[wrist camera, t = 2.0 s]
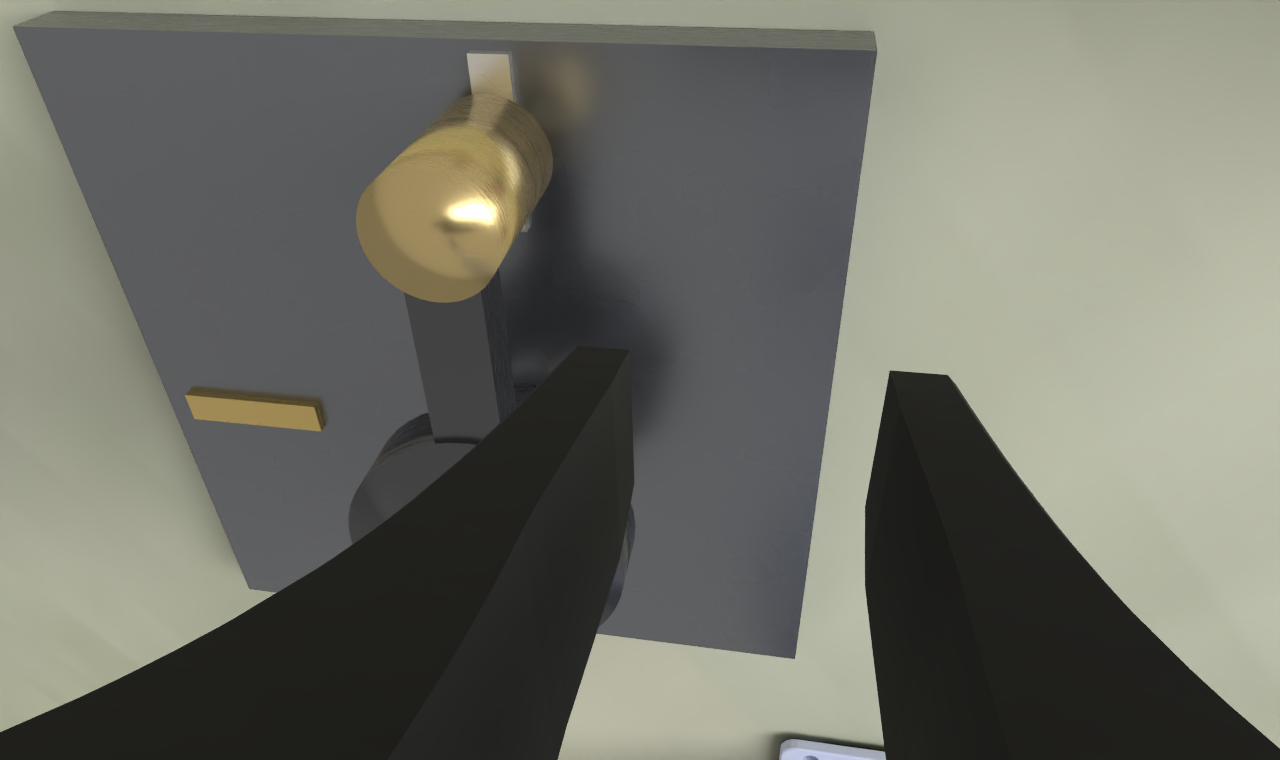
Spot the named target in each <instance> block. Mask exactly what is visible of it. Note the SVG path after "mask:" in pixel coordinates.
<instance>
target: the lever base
mask: <svg viewBox="0 0 1280 760" xmlns="http://www.w3.org/2000/svg"><path fill="white" fill-rule="evenodd" d="M13 28H14V31H15V33H16V36H17V38H18V40H19V43H20V45H21V47H22V50H23V52H24V55H25V57H26V59H27V62H28V64H29V66H30V69H31V71H32V74H33V76H34V78H35V81H36V83H37V85H38V88H39V90H40V93H41V95H42V97H43V100H44V102H45V105H46V107H47V109H48V112H49V114H50V116H51V119H52V121H53V124H54V126H55V128H56V131H57V133H58V135H59V138H60V140H61V143H62V145H63V147H64V150H65V152H66V154H67V157H68V159H69V162H70V164H71V166H72V169H73V171H74V173H75V176H76V178H77V181H78V183H79V185H80V188H81V190H82V192H83V195H84V197H85V200H86V202H87V204H88V207H89V209H90V211H91V214H92V216H93V219H94V221H95V223H96V226H97V228H98V230H99V233H100V235H101V238H102V240H103V242H104V245H105V247H106V249H107V252H108V254H109V257H110V259H111V261H112V264H113V266H114V268H115V271H116V273H117V276H118V278H119V280H120V283H121V285H122V288H123V290H124V292H125V295H126V297H127V299H128V302H129V304H130V307H131V309H132V311H133V314H134V316H135V318H136V321H137V323H138V326H139V328H140V330H141V333H142V335H143V337H144V340H145V342H146V345H147V347H148V349H149V352H150V354H151V356H152V359H153V361H154V364H155V366H156V368H157V371H158V373H159V375H160V378H161V380H162V383H163V385H164V387H165V390H166V392H167V394H168V397H169V399H170V402H171V404H172V406H173V409H174V411H175V413H176V416H177V418H178V421H179V423H180V425H181V428H182V430H183V432H184V435H185V437H186V440H187V442H188V444H189V447H190V449H191V451H192V454H193V456H194V459H195V461H196V463H197V466H198V468H199V470H200V473H201V475H202V478H203V480H204V482H205V485H206V487H207V490H208V492H209V494H210V497H211V499H212V501H213V504H214V506H215V509H216V511H217V513H218V516H219V518H220V520H221V523H222V525H223V528H224V530H225V532H226V535H227V537H228V539H229V542H230V544H231V547H232V549H233V551H234V554H235V556H236V558H237V561H238V563H239V566H240V568H241V570H242V573H243V575H244V577H245V580H246V582H247V585H248V587H249V589H254V590H262V591H269V592H279V591H281V590H282V589H284V588H286V587H287V586H289V585H291V584H292V583H294V582H295V581H297V580H299V579H300V578H302V577H304V576H305V575H307V574H309V573H310V572H312V571H314V570H315V569H317V568H319V567H320V566H322V565H323V564H325V563H326V562H328V561H329V560H331V559H332V558H334V557H335V556H337V555H338V554H340V553H341V552H342V551H344V550H345V549H347V548H348V547H350V546H351V545H352V542H351V537H350V532H349V519H348V517H349V510H350V505H351V502H352V499H353V496H354V494H355V492H356V491H357V489H358V487H359V486H360V484H361V482H362V481H363V479H364V478H365V476H366V474H367V473H368V471H369V469H370V468H371V466H372V465H373V463H374V461H375V460H376V458H377V456H378V455H379V453H380V452H381V450H382V448H383V447H384V445H385V444H386V442H387V440H388V439H389V438H390V437H391V436H392V435H393V434H394V433H395V431H396V430H397V429H399V428H400V427H401V426H403V425H404V424H405V423H407V422H408V421H410V420H412V419H414V418H416V417H418V416H420V415H422V414H425V413H428V408H427V403H426V398H425V393H424V388H423V383H422V378H421V373H420V369H419V364H418V359H417V354H416V349H415V344H414V339H413V334H412V330H411V325H410V320H409V315H408V310H407V305H406V300H405V295H404V292H403V291H401V290H400V289H398V288H396V287H395V286H393V285H392V284H391V283H389V282H388V281H387V280H386V279H385V278H384V277H383V276H381V275H380V273H379V272H378V271H377V270H376V269H375V268H374V267H373V265H372V264H371V262H370V261H369V260H368V258H367V256H366V254H365V253H364V251H363V249H362V246H361V244H360V241H359V238H358V234H357V228H356V212H357V207H358V203H359V200H360V198H361V196H362V194H363V192H364V191H365V190H366V188H367V187H368V186H369V185H370V184H371V183H372V182H373V181H374V180H375V179H376V178H377V177H378V176H379V175H380V174H381V173H382V172H383V171H384V170H385V169H386V168H387V167H388V166H389V165H390V164H391V163H392V162H393V161H394V160H395V159H396V158H397V157H398V156H399V155H400V154H401V153H402V152H403V151H404V150H405V149H406V148H407V147H408V146H409V145H410V144H411V143H412V142H413V141H414V140H415V139H416V138H417V137H418V136H419V135H420V134H421V133H422V132H423V131H424V130H425V129H426V128H427V127H428V126H429V125H430V124H431V123H432V122H433V121H434V120H435V119H436V118H437V117H438V116H439V115H440V114H441V113H442V112H443V111H444V110H445V109H446V108H447V107H448V106H449V105H450V104H451V103H453V102H454V101H456V100H458V99H460V98H462V97H465V96H468V95H473V94H493V95H497V96H501V97H504V98H507V99H509V100H511V101H513V102H515V103H517V104H518V105H520V106H521V107H523V108H524V109H525V110H527V111H528V112H529V113H530V114H531V115H532V116H533V117H534V118H535V119H536V120H537V122H538V123H539V124H540V126H541V127H542V129H543V130H544V132H545V134H546V136H547V138H548V141H549V143H550V147H551V150H552V157H553V169H552V175H551V179H550V182H549V184H548V187H547V189H546V190H545V192H544V193H543V195H542V197H541V198H540V200H539V202H538V203H537V205H536V207H535V208H534V210H533V212H532V213H531V215H530V216H529V218H528V220H527V221H526V223H525V225H524V226H523V228H522V230H521V231H520V233H519V235H518V236H517V238H516V239H515V241H514V243H513V244H512V246H511V248H510V249H509V251H508V253H507V254H506V256H505V258H504V259H503V261H502V262H501V264H500V266H499V273H500V280H501V288H502V296H503V303H504V311H505V319H506V327H507V334H508V342H509V350H510V358H511V365H512V373H513V381H514V389H515V396H516V404H517V406H518V405H519V404H520V403H521V402H522V401H523V400H524V399H525V398H526V397H527V396H528V395H529V394H530V393H531V392H532V391H533V390H534V389H535V388H536V387H537V386H538V385H539V384H540V383H541V382H542V381H543V380H544V379H545V378H546V377H547V376H548V375H549V374H550V373H551V372H552V371H553V369H554V368H555V367H556V366H557V365H558V364H559V363H560V362H561V361H562V360H563V359H564V358H565V357H566V356H567V355H568V354H569V353H570V352H572V351H573V350H574V349H575V348H577V347H578V346H588V347H600V348H613V349H625V350H630V358H631V389H632V421H633V453H634V488H633V493H632V499H631V505H632V508H633V511H634V517H635V525H636V527H635V540H634V544H633V548H632V552H631V557H630V561H629V565H628V569H627V573H626V578H625V582H624V586H623V590H622V594H621V598H620V600H619V602H618V604H617V607H616V609H615V610H614V612H613V613H612V614H611V615H610V617H609V618H608V619H607V620H606V621H605V622H604V623H603V624H602V625H601V626H600V627H599V628H598V630H597V634H605V635H613V636H620V637H628V638H636V639H644V640H652V641H659V642H667V643H675V644H683V645H691V646H698V647H706V648H714V649H722V650H730V651H737V652H745V653H753V654H761V655H769V656H776V657H784V658H792V659H795V654H796V647H797V639H798V632H799V625H800V617H801V610H802V602H803V595H804V588H805V580H806V573H807V566H808V558H809V551H810V543H811V536H812V529H813V521H814V514H815V506H816V499H817V492H818V484H819V477H820V469H821V462H822V455H823V447H824V440H825V432H826V425H827V418H828V410H829V403H830V396H831V388H832V381H833V373H834V366H835V359H836V351H837V344H838V336H839V329H840V322H841V314H842V307H843V299H844V292H845V285H846V277H847V270H848V263H849V255H850V248H851V240H852V233H853V226H854V218H855V211H856V203H857V196H858V189H859V181H860V174H861V166H862V159H863V152H864V144H865V137H866V129H867V122H868V115H869V107H870V100H871V93H872V85H873V78H874V70H875V63H876V56H877V46H876V40H875V34H874V32H862V31H823V30H783V29H743V28H703V27H663V26H623V25H583V24H543V23H503V22H464V21H424V20H384V19H344V18H304V17H264V16H224V15H184V14H145V13H105V12H65V11H53V12H50V13H48V14H45V15H42V16H40V17H37V18H34V19H31V20H29V21H26V22H23V23H20V24H18V25H15V26H13Z"/></svg>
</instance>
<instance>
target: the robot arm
mask: <svg viewBox="0 0 1280 760" xmlns="http://www.w3.org/2000/svg"><path fill="white" fill-rule="evenodd" d="M633 488H634V453H633V421H632V389H631V358H630V350H625V349H613V348H600V347H588V346H578V347H577V348H575V349H574V350H573V351H572V352H570V353H569V354H568V355H567V356H566V357H565V358H564V359H563V360H562V361H561V362H560V363H559V364H558V365H557V366H556V367H555V368H554V369H553V371H552V372H551V373H550V374H549V375H548V376H547V377H546V378H545V379H544V380H543V381H542V382H541V383H540V384H539V385H538V386H537V387H536V388H535V389H534V390H533V391H532V392H531V393H530V394H529V395H528V396H527V397H526V398H525V399H524V400H523V401H522V402H521V403H520V404H519V405H518V406H517V407H516V408H515V409H514V410H513V411H512V412H511V413H510V414H509V415H508V416H506V417H505V418H504V419H503V420H502V421H501V422H500V423H499V424H498V425H497V426H496V427H495V428H494V429H493V430H492V431H490V432H489V433H488V434H487V435H486V436H485V437H484V438H483V439H482V440H481V441H480V442H479V443H478V444H477V445H476V446H474V447H473V448H472V449H471V450H470V451H469V452H468V453H467V454H466V455H465V456H463V457H462V458H461V459H460V460H459V461H458V462H457V463H455V464H454V465H453V466H452V467H451V468H449V469H448V470H447V471H446V472H445V473H444V474H442V475H441V476H440V477H439V478H438V479H436V480H435V481H434V482H433V483H432V484H430V485H429V486H428V487H427V488H426V489H424V490H423V491H422V492H421V493H420V494H419V495H417V496H416V497H415V498H414V499H413V500H411V501H410V502H409V503H408V504H406V505H405V506H404V507H403V508H401V509H400V510H399V511H397V512H396V513H395V514H393V515H392V516H391V517H390V518H388V519H387V520H386V521H384V522H383V523H382V524H380V525H379V526H378V527H376V528H375V529H374V530H372V531H371V532H370V533H368V534H367V535H365V536H364V537H363V538H361V539H360V540H358V541H357V542H355V543H354V544H352V545H351V546H350V547H348V548H347V549H345V550H344V551H342V552H341V553H340V554H338V555H337V556H335V557H334V558H332V559H331V560H329V561H328V562H326V563H325V564H323V565H322V566H320V567H319V568H317V569H315V570H314V571H312V572H310V573H309V574H307V575H305V576H304V577H302V578H300V579H299V580H297V581H295V582H294V583H292V584H291V585H289V586H287V587H286V588H284V589H282V590H281V591H279V592H277V593H276V594H274V595H272V596H271V597H269V598H267V599H266V600H264V601H262V602H261V603H259V604H257V605H256V606H254V607H252V608H251V609H249V610H247V611H246V612H244V613H242V614H241V615H239V616H238V617H236V618H234V619H232V620H231V621H229V622H227V623H225V624H224V625H222V626H220V627H218V628H216V629H214V630H213V631H211V632H209V633H207V634H205V635H203V636H201V637H199V638H198V639H196V640H194V641H192V642H190V643H188V644H186V645H185V646H183V647H181V648H179V649H177V650H175V651H173V652H171V653H169V654H167V655H165V656H163V657H161V658H159V659H157V660H155V661H153V662H151V663H149V664H147V665H145V666H144V667H142V668H140V669H138V670H136V671H134V672H132V673H130V674H128V675H126V676H124V677H122V678H120V679H118V680H116V681H113V682H111V683H109V684H107V685H105V686H103V687H101V688H99V689H97V690H94V691H92V692H90V693H88V694H86V695H84V696H82V697H80V698H77V699H75V700H73V701H71V702H68V703H66V704H64V705H62V706H59V707H57V708H55V709H52V710H50V711H48V712H46V713H43V714H41V715H39V716H36V717H34V718H32V719H30V720H27V721H25V722H23V723H21V724H18V725H16V726H14V727H11V728H9V729H7V730H5V731H2V732H0V760H557V759H558V756H559V752H560V748H561V745H562V741H563V737H564V734H565V730H566V727H567V723H568V720H569V717H570V714H571V711H572V708H573V705H574V702H575V698H576V695H577V692H578V689H579V686H580V683H581V680H582V677H583V674H584V670H585V667H586V664H587V661H588V658H589V655H590V652H591V649H592V645H593V642H594V639H595V636H596V633H597V630H598V627H599V624H600V621H601V617H602V614H603V611H604V608H605V605H606V602H607V599H608V595H609V592H610V589H611V586H612V583H613V580H614V576H615V573H616V570H617V567H618V563H619V560H620V556H621V551H622V546H623V541H624V536H625V531H626V526H627V521H628V515H629V510H630V504H631V499H632V493H633ZM865 588H866V597H867V606H868V614H869V623H870V632H871V640H872V649H873V657H874V665H875V673H876V681H877V690H878V698H879V706H880V714H881V723H882V731H883V739H884V747H885V752H883V751H876V750H869V749H862V748H855V747H848V746H841V745H834V744H827V743H820V742H813V741H805V740H798V739H790V740H786V741H785V742H783V743H782V744H781V747H780V755H779V760H1280V749H1279V748H1278V747H1277V746H1276V745H1275V744H1274V743H1273V742H1271V741H1270V740H1269V739H1268V738H1267V737H1266V736H1264V735H1263V734H1262V733H1261V732H1260V731H1259V730H1257V729H1256V728H1255V727H1254V726H1253V725H1252V724H1250V723H1249V722H1248V721H1247V720H1246V719H1245V718H1244V717H1242V716H1241V715H1240V714H1239V713H1238V712H1237V711H1235V710H1234V709H1233V708H1232V707H1231V706H1230V705H1229V704H1227V703H1226V702H1225V701H1224V700H1223V699H1222V698H1221V697H1220V696H1219V695H1218V694H1217V693H1215V692H1214V691H1213V690H1212V689H1211V688H1210V687H1209V686H1208V685H1207V684H1206V683H1204V682H1203V681H1202V680H1201V679H1200V678H1199V677H1198V676H1197V675H1196V674H1195V673H1194V672H1193V671H1192V670H1190V669H1189V668H1188V667H1187V666H1186V665H1185V664H1184V663H1183V662H1182V661H1181V660H1180V659H1179V658H1178V657H1177V656H1176V655H1175V654H1174V653H1173V652H1172V651H1171V650H1170V649H1169V648H1168V647H1167V646H1166V645H1165V644H1164V643H1163V642H1162V641H1161V640H1160V639H1159V638H1158V637H1157V636H1156V635H1155V634H1154V633H1153V632H1152V631H1151V630H1150V629H1149V628H1148V627H1147V626H1146V625H1145V624H1144V623H1143V622H1142V621H1141V620H1140V619H1139V618H1138V617H1137V616H1136V615H1135V614H1134V613H1133V612H1132V611H1131V610H1130V609H1129V608H1128V607H1127V606H1126V605H1125V604H1124V603H1123V601H1122V600H1121V599H1120V598H1119V597H1118V596H1117V595H1116V594H1115V593H1114V592H1113V591H1112V589H1111V588H1110V587H1109V586H1108V585H1107V584H1106V583H1105V582H1104V580H1103V579H1102V578H1101V577H1100V576H1099V575H1098V574H1097V572H1096V571H1095V570H1094V569H1093V568H1092V567H1091V566H1090V564H1089V563H1088V562H1087V561H1086V560H1085V559H1084V557H1083V556H1082V555H1081V554H1080V553H1079V552H1078V551H1077V549H1076V548H1075V547H1074V546H1073V545H1072V543H1071V542H1070V541H1069V540H1068V538H1067V537H1066V536H1065V535H1064V534H1063V532H1062V531H1061V530H1060V529H1059V528H1058V526H1057V525H1056V524H1055V523H1054V521H1053V520H1052V519H1051V518H1050V516H1049V515H1048V514H1047V512H1046V511H1045V510H1044V508H1043V507H1042V506H1041V505H1040V503H1039V502H1038V501H1037V499H1036V498H1035V497H1034V495H1033V494H1032V493H1031V492H1030V490H1029V489H1028V488H1027V486H1026V485H1025V484H1024V482H1023V481H1022V480H1021V479H1020V477H1019V476H1018V475H1017V473H1016V472H1015V470H1014V469H1013V468H1012V466H1011V465H1010V464H1009V462H1008V461H1007V459H1006V458H1005V457H1004V455H1003V454H1002V452H1001V451H1000V450H999V448H998V447H997V445H996V444H995V442H994V441H993V440H992V438H991V437H990V435H989V434H988V432H987V431H986V429H985V428H984V426H983V425H982V424H981V422H980V421H979V419H978V418H977V416H976V415H975V413H974V412H973V410H972V409H971V407H970V406H969V404H968V402H967V401H966V399H965V398H964V396H963V395H962V393H961V392H960V390H959V389H958V387H957V386H956V384H955V383H954V382H953V381H952V380H951V378H950V377H949V376H948V375H939V374H927V373H914V372H901V371H890V373H889V379H888V384H887V390H886V395H885V401H884V406H883V412H882V417H881V423H880V428H879V434H878V439H877V445H876V450H875V456H874V461H873V467H872V472H871V478H870V483H869V489H868V494H867V500H866V505H865Z"/></svg>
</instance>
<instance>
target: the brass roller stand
mask: <svg viewBox="0 0 1280 760" xmlns="http://www.w3.org/2000/svg"><path fill="white" fill-rule="evenodd" d="M552 169H553V157H552V150H551V147H550V143H549V141H548V138H547V136H546V134H545V132H544V130H543V129H542V127H541V126H540V124H539V123H538V122H537V120H536V119H535V118H534V117H533V116H532V115H531V114H530V113H529V112H528V111H527V110H525V109H524V108H523V107H521V106H520V105H518V104H517V103H515V102H513V101H511V100H509V99H507V98H504V97H501V96H497V95H493V94H473V95H468V96H465V97H462V98H460V99H458V100H456V101H454V102H453V103H451V104H450V105H449V106H448V107H447V108H446V109H445V110H444V111H443V112H442V113H441V114H440V115H439V116H438V117H437V118H436V119H435V120H434V121H433V122H432V123H431V124H430V125H429V126H428V127H427V128H426V129H425V130H424V131H423V132H422V133H421V134H420V135H419V136H418V137H417V138H416V139H415V140H414V141H413V142H412V143H411V144H410V145H409V146H408V147H407V148H406V149H405V150H404V151H403V152H402V153H401V154H400V155H399V156H398V157H397V158H396V159H395V160H394V161H393V162H392V163H391V164H390V165H389V166H388V167H387V168H386V169H385V170H384V171H383V172H382V173H381V174H380V175H379V176H378V177H377V178H376V179H375V180H374V181H373V182H372V183H371V184H370V185H369V186H368V187H367V188H366V190H365V191H364V192H363V194H362V196H361V198H360V200H359V203H358V207H357V212H356V228H357V234H358V238H359V241H360V244H361V246H362V249H363V251H364V253H365V254H366V256H367V258H368V260H369V261H370V262H371V264H372V265H373V267H374V268H375V269H376V270H377V271H378V272H379V273H380V275H381V276H383V277H384V278H385V279H386V280H387V281H388V282H389V283H391V284H392V285H393V286H395V287H396V288H398V289H400V290H401V291H403V292H404V295H405V300H406V305H407V310H408V315H409V320H410V325H411V330H412V334H413V339H414V344H415V349H416V354H417V359H418V364H419V369H420V373H421V378H422V383H423V388H424V393H425V398H426V403H427V408H428V413H425V414H422V415H420V416H418V417H416V418H414V419H412V420H410V421H408V422H407V423H405V424H404V425H403V426H401V427H400V428H399V429H397V430H396V431H395V433H394V434H393V435H392V436H391V437H390V438H389V439H388V440H387V442H386V444H385V445H384V447H383V448H382V450H381V452H380V453H379V455H378V456H377V458H376V460H375V461H374V463H373V465H372V466H371V468H370V469H369V471H368V473H367V474H366V476H365V478H364V479H363V481H362V482H361V484H360V486H359V487H358V489H357V491H356V492H355V494H354V496H353V499H352V502H351V505H350V510H349V517H348V519H349V532H350V537H351V542H352V544H354V543H355V542H357V541H358V540H360V539H361V538H363V537H364V536H365V535H367V534H368V533H370V532H371V531H372V530H374V529H375V528H376V527H378V526H379V525H380V524H382V523H383V522H384V521H386V520H387V519H388V518H390V517H391V516H392V515H393V514H395V513H396V512H397V511H399V510H400V509H401V508H403V507H404V506H405V505H406V504H408V503H409V502H410V501H411V500H413V499H414V498H415V497H416V496H417V495H419V494H420V493H421V492H422V491H423V490H424V489H426V488H427V487H428V486H429V485H430V484H432V483H433V482H434V481H435V480H436V479H438V478H439V477H440V476H441V475H442V474H444V473H445V472H446V471H447V470H448V469H449V468H451V467H452V466H453V465H454V464H455V463H457V462H458V461H459V460H460V459H461V458H462V457H463V456H465V455H466V454H467V453H468V452H469V451H470V450H471V449H472V448H473V447H474V446H476V445H477V444H478V443H479V442H480V441H481V440H482V439H483V438H484V437H485V436H486V435H487V434H488V433H489V432H490V431H492V430H493V429H494V428H495V427H496V426H497V425H498V424H499V423H500V422H501V421H502V420H503V419H504V418H505V417H506V416H508V415H509V414H510V413H511V412H512V411H513V410H514V409H515V408H516V407H517V404H516V396H515V389H514V381H513V373H512V365H511V358H510V350H509V342H508V334H507V327H506V319H505V311H504V303H503V296H502V288H501V280H500V273H499V266H500V264H501V262H502V261H503V259H504V258H505V256H506V254H507V253H508V251H509V249H510V248H511V246H512V244H513V243H514V241H515V239H516V238H517V236H518V235H519V233H520V231H521V230H522V228H523V226H524V225H525V223H526V221H527V220H528V218H529V216H530V215H531V213H532V212H533V210H534V208H535V207H536V205H537V203H538V202H539V200H540V198H541V197H542V195H543V193H544V192H545V190H546V189H547V187H548V184H549V182H550V179H551V175H552ZM635 527H636V525H635V517H634V511H633V508H632V505H631V504H630V510H629V515H628V521H627V526H626V531H625V536H624V541H623V546H622V551H621V556H620V560H619V563H618V567H617V570H616V573H615V576H614V580H613V583H612V586H611V589H610V592H609V595H608V599H607V602H606V605H605V608H604V611H603V614H602V617H601V621H600V624H599V627H600V626H601V625H602V624H603V623H604V622H605V621H606V620H607V619H608V618H609V617H610V615H611V614H612V613H613V612H614V610H615V609H616V607H617V604H618V602H619V600H620V598H621V594H622V590H623V586H624V582H625V578H626V573H627V569H628V565H629V561H630V557H631V552H632V548H633V544H634V540H635ZM599 627H598V628H599Z"/></svg>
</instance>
